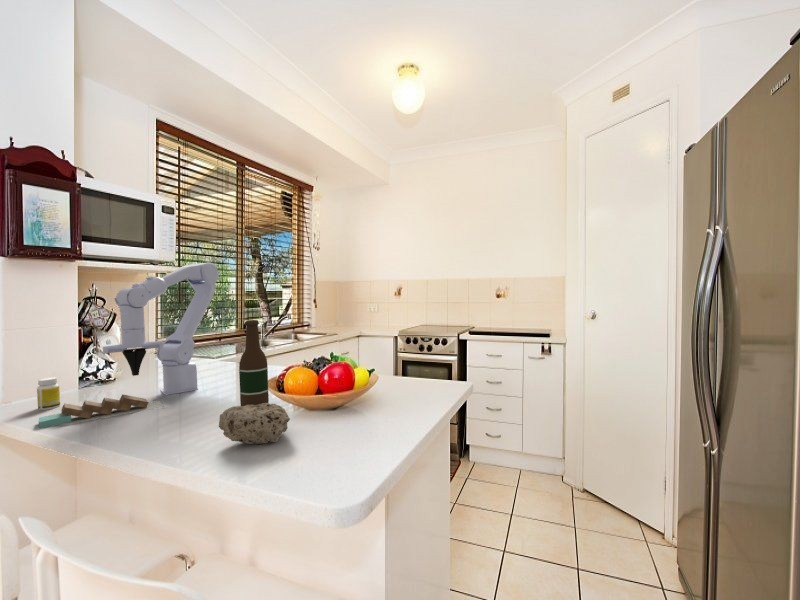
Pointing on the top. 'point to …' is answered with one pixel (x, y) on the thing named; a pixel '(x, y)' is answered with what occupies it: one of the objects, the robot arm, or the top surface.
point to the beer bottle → (253, 369)
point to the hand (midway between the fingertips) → (135, 375)
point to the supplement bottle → (48, 394)
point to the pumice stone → (254, 423)
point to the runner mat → (114, 413)
